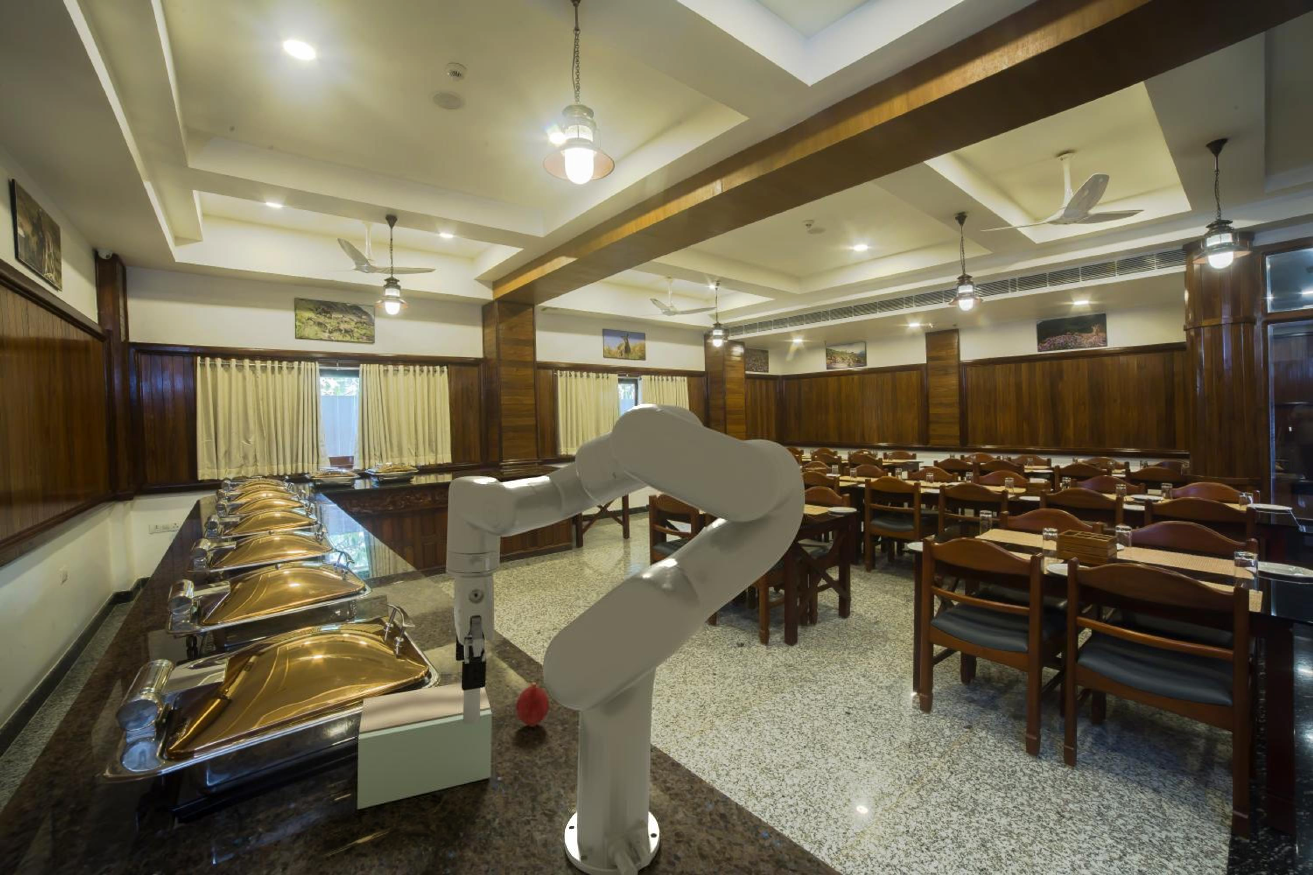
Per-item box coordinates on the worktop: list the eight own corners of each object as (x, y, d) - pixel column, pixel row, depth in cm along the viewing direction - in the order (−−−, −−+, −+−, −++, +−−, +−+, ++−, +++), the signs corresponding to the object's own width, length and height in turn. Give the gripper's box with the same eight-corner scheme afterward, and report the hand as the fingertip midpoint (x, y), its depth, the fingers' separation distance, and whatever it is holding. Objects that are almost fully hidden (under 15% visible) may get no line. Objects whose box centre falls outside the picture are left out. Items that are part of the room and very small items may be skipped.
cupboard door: (492, 784, 83) (494, 666, 82) (356, 817, 75) (357, 688, 74) (489, 772, 85) (491, 658, 85) (358, 803, 78) (359, 678, 77)
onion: (508, 729, 98) (509, 685, 98) (530, 714, 103) (531, 672, 103) (534, 738, 95) (535, 693, 95) (555, 722, 100) (556, 679, 100)
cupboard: (489, 773, 86) (490, 707, 85) (358, 804, 78) (359, 731, 78) (480, 738, 95) (482, 679, 94) (363, 763, 87) (363, 698, 87)
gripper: (509, 574, 75) (504, 696, 76) (491, 545, 91) (487, 646, 92) (451, 578, 72) (447, 706, 73) (442, 547, 88) (439, 652, 88)
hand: (469, 672), depth 82 cm, fingers open, 9 cm apart
